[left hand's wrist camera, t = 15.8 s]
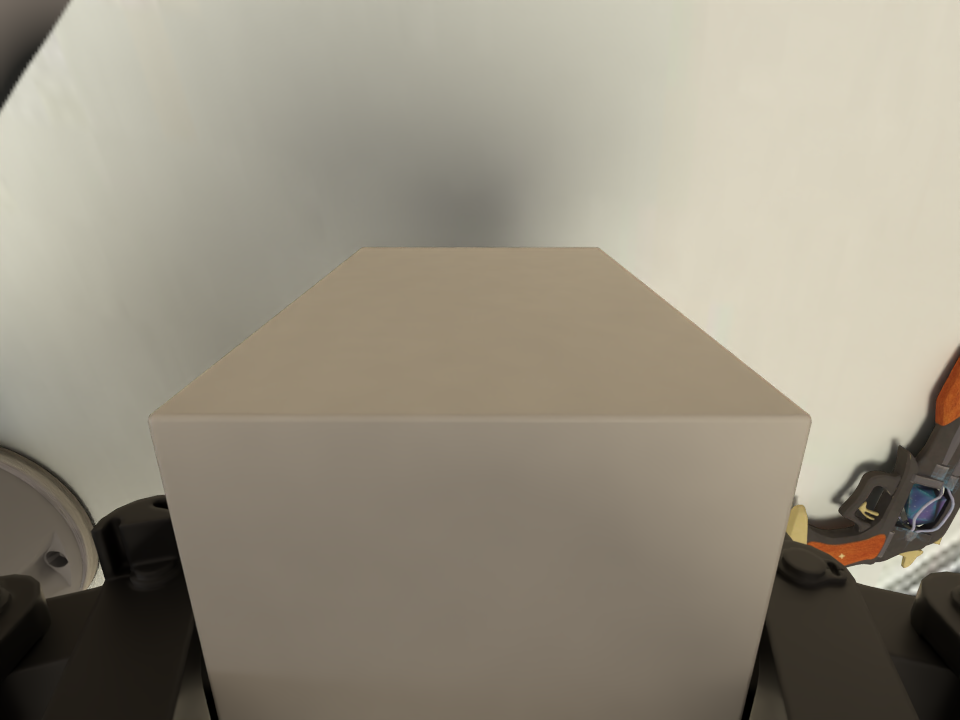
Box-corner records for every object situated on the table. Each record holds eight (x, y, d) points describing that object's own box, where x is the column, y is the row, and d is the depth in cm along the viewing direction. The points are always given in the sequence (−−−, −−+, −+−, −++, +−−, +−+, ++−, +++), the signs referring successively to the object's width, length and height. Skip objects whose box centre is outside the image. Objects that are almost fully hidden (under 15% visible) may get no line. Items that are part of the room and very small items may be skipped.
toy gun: (776, 580, 38) (920, 618, 37) (898, 316, 33) (1066, 358, 32) (760, 556, 40) (894, 592, 40) (871, 308, 35) (1026, 347, 35)
